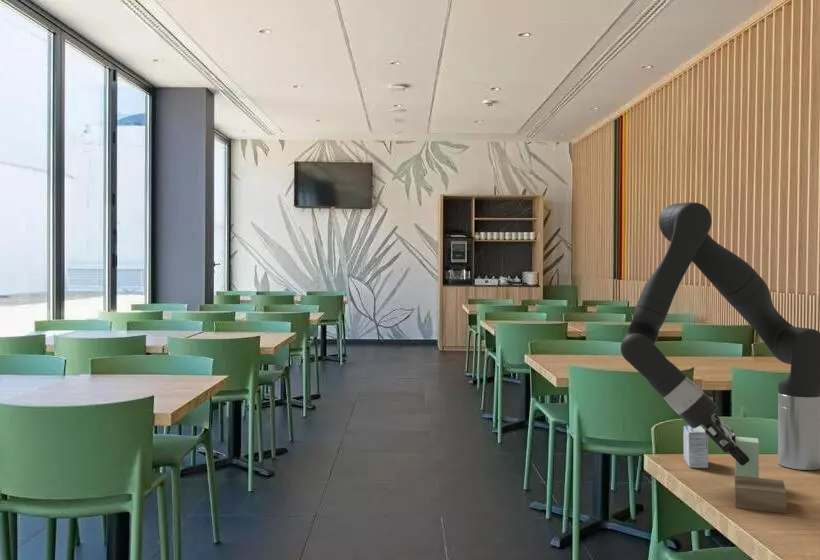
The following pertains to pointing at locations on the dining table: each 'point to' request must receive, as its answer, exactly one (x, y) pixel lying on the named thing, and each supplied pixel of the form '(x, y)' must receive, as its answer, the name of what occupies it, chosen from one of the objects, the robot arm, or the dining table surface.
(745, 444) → the sage block
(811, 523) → the dining table surface
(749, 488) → the walnut plinth
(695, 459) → the medicine box
